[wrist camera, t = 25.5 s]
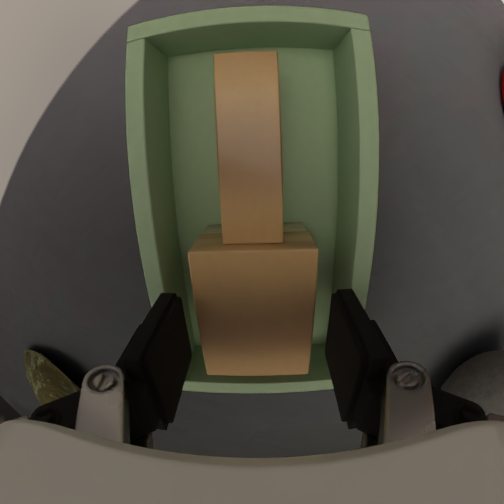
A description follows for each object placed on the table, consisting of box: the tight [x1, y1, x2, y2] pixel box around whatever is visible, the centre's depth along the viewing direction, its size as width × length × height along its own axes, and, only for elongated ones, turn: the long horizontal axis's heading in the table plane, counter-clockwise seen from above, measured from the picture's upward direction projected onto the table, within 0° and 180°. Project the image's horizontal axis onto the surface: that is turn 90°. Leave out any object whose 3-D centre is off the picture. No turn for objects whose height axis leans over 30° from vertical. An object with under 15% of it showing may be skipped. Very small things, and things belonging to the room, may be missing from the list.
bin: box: [125, 6, 379, 393], centre depth 12 cm, size 17×9×4 cm, turn 2°
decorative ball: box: [441, 350, 504, 416], centre depth 13 cm, size 10×10×10 cm
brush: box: [188, 51, 319, 376], centre depth 11 cm, size 13×5×4 cm, turn 2°
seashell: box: [25, 349, 81, 406], centre depth 18 cm, size 10×7×10 cm
